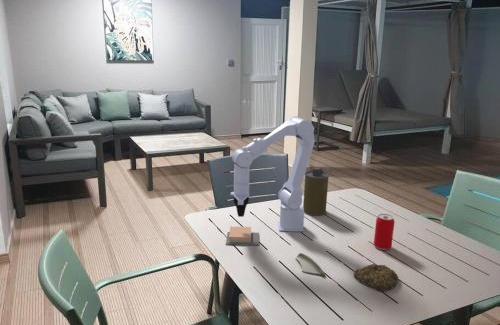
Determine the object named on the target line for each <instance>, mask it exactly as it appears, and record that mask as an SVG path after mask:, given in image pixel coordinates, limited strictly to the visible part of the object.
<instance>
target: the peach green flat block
mask: <svg viewBox="0 0 500 325" xmlns="http://www.w3.org/2000/svg"><path fill="white" fill-rule="evenodd" d="M229 232H230V234H229V242H251V232H252V226H230V228H229Z"/></svg>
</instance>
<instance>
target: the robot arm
mask: <svg viewBox="0 0 500 325" xmlns="http://www.w3.org/2000/svg"><path fill="white" fill-rule="evenodd" d="M315 129H316V128H315V126H314V125H313V123H312V122H311V121H310V120H308V119H303V118H301V117H298V116H293V117H290V118H289V119H287V120H285V121H284V122H283V123H282V124H280V125H279V127H277V128H276V129H274V130H273V131H271V132H270V133H269V134H267V135H266V136H265V137H263V138H262V137H257V138H254V139H252V142H250V143H248V144H247V145H244V146H242V147H241V149H239V148H238V149H236V150H235V151H234V152H233V154H232V156H231V159H232V162H233V163H234V164H233V168H234V169H233V191H231V192H230V196H233V203H234V205H235V207H236V214H237V216H238V217H239V218H240V217H242V218H243V217H244V216H245V214H246V213H245V212H246V208H247V205H248V204H249V200H250V199H249V198H250V197H249V196H250V166H251V165H252V163H253V161H254V160H256V159H257V158H259V157H261V155H263V154H264V153H266V152H268V149H269V147H270V146H271V145H273V144H274V143H276V142H278V141H280V140H281V139H283V138H285V137H286V136H289V137H295V138H296V140H297V141H298V147H297V151H296V153H295V156H294V160H293V163H292V166H291V169H290V173H289V176H288V179H287V181H285V182H284V183H283V186H282V188H281V189H280V190H279V191H278V196H277V197H278V199H279V201H280V205H279V206H280V207H279V208H280V209H279V210H280V212H279V221H278V222H277V225H278V231H279V232H304V223H305V222H304V221H305V219H304V218H305V213H304V208H303V206H302V205H303V195H304V190H303V188H302V184H303V180H304V179H305V172H307V168H308V164H309V161H310V159H311V156H312V152H313V149H314V147H315V135H314V134H315V133H314V131H315Z"/></svg>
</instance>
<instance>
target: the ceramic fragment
mask: <svg viewBox="0 0 500 325" xmlns="http://www.w3.org/2000/svg"><path fill="white" fill-rule="evenodd" d="M294 259H295V261H296V262H297V263H299V265H300V267H301V272H302V273H305V274H309V275H310V274H311V275H315V274H316V275H317V276H321V275H322V277H327V276H326V274H325V272H324V271H323V269H322V268H321V266H320V265H319V264H318V263H317V262H316V261H315V260H314V259H312V258H311V257H310V256H308V255H307V254H305V253H302V252H300V253H298V254H297V256H296V257H295V258H294Z"/></svg>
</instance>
